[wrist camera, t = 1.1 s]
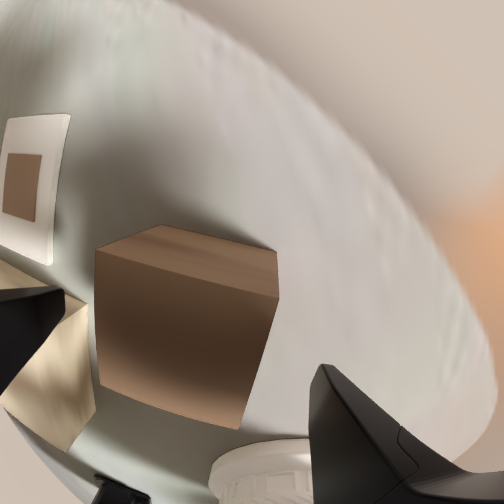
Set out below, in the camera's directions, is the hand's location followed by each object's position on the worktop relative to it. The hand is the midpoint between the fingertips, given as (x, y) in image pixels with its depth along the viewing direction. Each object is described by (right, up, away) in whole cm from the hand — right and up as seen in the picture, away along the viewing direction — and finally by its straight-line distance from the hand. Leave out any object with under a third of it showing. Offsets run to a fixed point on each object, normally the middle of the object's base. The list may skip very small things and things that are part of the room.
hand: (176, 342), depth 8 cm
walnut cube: (0, +1, +4) cm, 4 cm away
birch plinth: (-12, -3, +6) cm, 14 cm away
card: (-11, +7, +3) cm, 13 cm away
